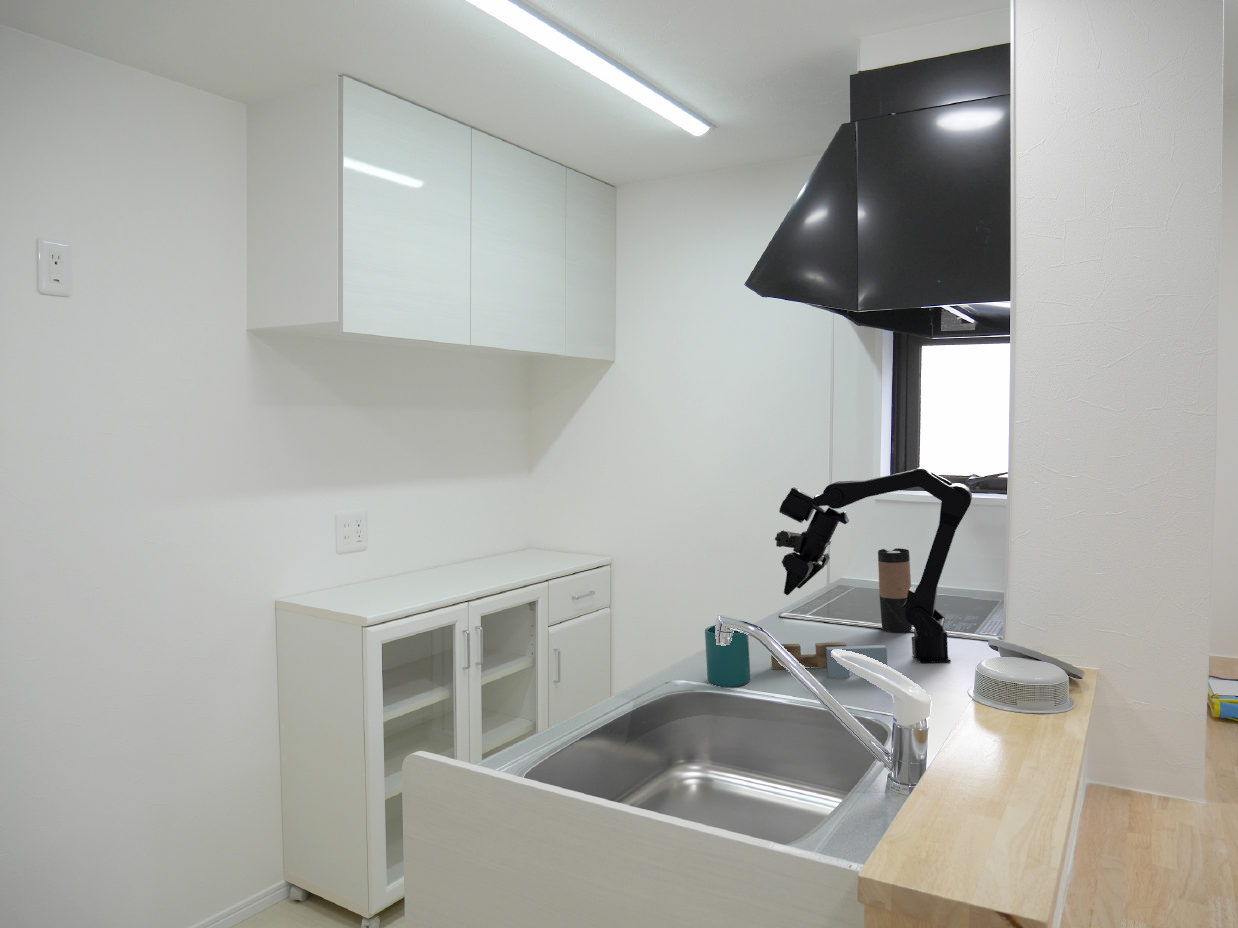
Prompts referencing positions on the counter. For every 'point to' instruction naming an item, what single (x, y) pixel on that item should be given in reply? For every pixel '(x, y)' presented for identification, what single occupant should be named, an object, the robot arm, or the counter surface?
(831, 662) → the slate block
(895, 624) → the travel mug
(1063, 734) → the counter surface
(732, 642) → the cup
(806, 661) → the walnut board
